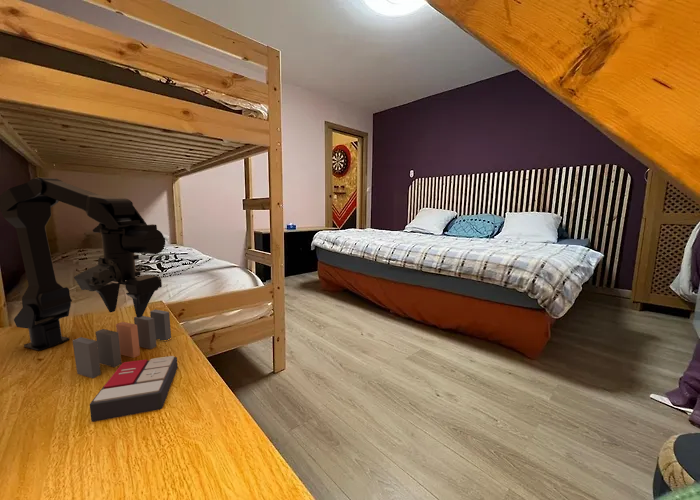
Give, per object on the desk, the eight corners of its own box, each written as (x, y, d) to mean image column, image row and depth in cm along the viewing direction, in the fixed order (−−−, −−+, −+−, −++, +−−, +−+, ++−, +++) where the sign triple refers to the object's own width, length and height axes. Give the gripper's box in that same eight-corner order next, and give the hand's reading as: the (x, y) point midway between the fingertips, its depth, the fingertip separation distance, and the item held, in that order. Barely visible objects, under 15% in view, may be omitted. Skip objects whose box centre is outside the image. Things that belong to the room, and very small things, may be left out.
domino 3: (119, 354, 74) (115, 324, 73) (125, 351, 76) (122, 321, 74) (133, 357, 73) (130, 327, 71) (140, 354, 74) (137, 324, 73)
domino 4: (136, 345, 78) (133, 317, 77) (142, 343, 80) (139, 315, 79) (150, 349, 77) (148, 320, 76) (156, 346, 79) (154, 317, 77)
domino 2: (99, 363, 70) (95, 331, 69) (106, 360, 72) (103, 328, 70) (114, 367, 69) (110, 335, 67) (121, 363, 70) (118, 332, 69)
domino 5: (152, 338, 83) (150, 311, 81) (157, 336, 84) (155, 309, 83) (166, 341, 81) (163, 314, 80) (171, 339, 83) (169, 311, 81)
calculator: (177, 353, 69) (160, 388, 55) (178, 370, 70) (162, 410, 56) (120, 360, 66) (87, 400, 52) (122, 378, 66) (90, 423, 52)
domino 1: (77, 373, 66) (72, 340, 64) (85, 369, 67) (81, 337, 66) (92, 378, 64) (88, 344, 63) (100, 374, 66) (96, 340, 64)
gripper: (50, 254, 65) (60, 321, 68) (110, 261, 59) (119, 334, 62) (105, 247, 75) (112, 305, 78) (160, 252, 70) (166, 315, 73)
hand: (125, 314), depth 72 cm, fingers open, 9 cm apart
